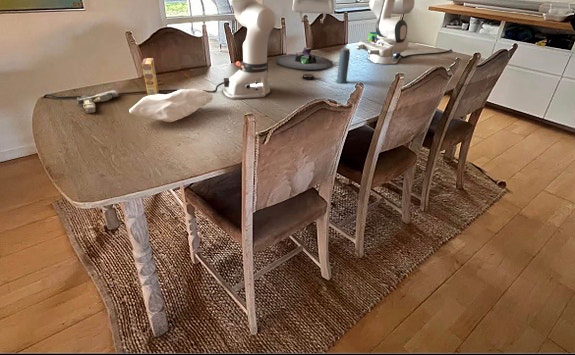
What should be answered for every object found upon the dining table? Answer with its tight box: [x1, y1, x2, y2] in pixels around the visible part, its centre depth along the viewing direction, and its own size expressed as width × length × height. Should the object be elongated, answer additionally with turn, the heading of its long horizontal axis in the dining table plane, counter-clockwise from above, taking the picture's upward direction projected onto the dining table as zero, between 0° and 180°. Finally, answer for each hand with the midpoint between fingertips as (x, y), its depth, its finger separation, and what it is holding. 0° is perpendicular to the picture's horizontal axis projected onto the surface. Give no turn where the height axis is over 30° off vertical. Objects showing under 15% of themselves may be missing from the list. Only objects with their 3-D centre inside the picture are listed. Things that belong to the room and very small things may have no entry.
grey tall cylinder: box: [336, 47, 351, 84], centre depth 189 cm, size 5×5×17 cm
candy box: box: [141, 57, 160, 96], centre depth 163 cm, size 9×4×15 cm, turn 13°
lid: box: [302, 73, 315, 81], centre depth 196 cm, size 6×6×2 cm
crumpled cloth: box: [129, 88, 214, 123], centre depth 147 cm, size 24×35×9 cm
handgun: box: [76, 89, 120, 114], centre depth 155 cm, size 3×18×15 cm
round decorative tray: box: [275, 46, 334, 71], centre depth 220 cm, size 35×35×9 cm
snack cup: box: [367, 31, 377, 42], centre depth 258 cm, size 16×10×10 cm
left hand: (312, 22), depth 181 cm, fingers open, 8 cm apart
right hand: (363, 50), depth 190 cm, fingers open, 8 cm apart
